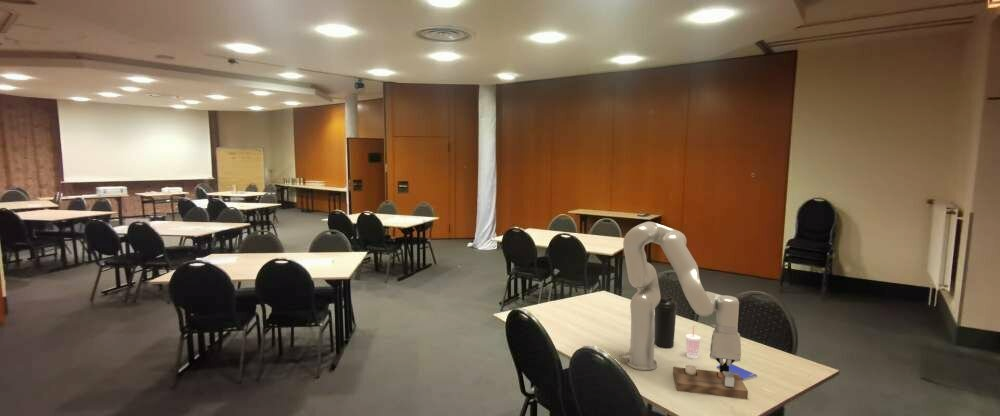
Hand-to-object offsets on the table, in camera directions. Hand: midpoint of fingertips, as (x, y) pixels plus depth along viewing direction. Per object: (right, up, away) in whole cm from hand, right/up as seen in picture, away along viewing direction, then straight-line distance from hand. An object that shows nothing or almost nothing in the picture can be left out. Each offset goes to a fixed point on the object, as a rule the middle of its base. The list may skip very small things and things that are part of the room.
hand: (723, 374), depth 178 cm
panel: (-7, -4, -1) cm, 8 cm away
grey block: (-2, -1, -7) cm, 7 cm away
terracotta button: (0, -3, 0) cm, 3 cm away
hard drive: (+10, -4, +10) cm, 14 cm away
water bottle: (-10, 0, +37) cm, 39 cm away
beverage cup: (-2, -1, +25) cm, 25 cm away
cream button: (-12, -1, +3) cm, 12 cm away
